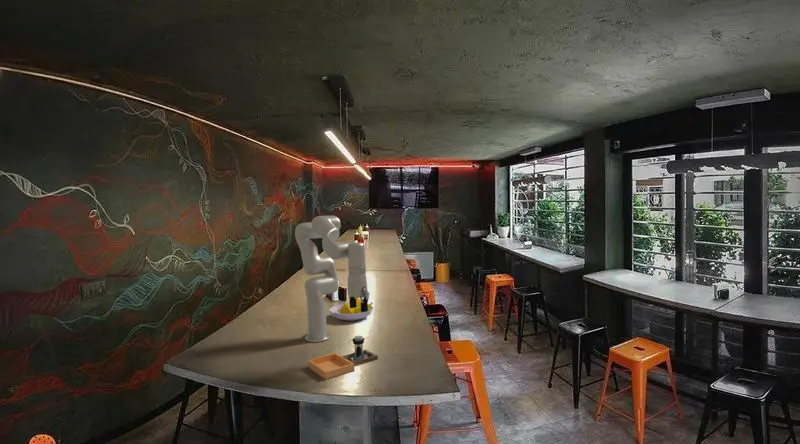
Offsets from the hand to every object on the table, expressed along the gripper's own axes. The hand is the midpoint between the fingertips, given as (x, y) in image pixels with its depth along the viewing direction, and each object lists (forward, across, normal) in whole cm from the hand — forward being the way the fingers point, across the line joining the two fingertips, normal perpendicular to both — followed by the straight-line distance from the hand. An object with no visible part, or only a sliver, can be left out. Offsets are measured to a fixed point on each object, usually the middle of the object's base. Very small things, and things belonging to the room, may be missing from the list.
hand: (358, 309), depth 171 cm
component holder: (+22, 0, 0) cm, 22 cm away
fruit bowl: (+20, -59, +29) cm, 69 cm away
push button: (+22, 0, 0) cm, 22 cm away
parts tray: (+22, +1, -15) cm, 27 cm away
